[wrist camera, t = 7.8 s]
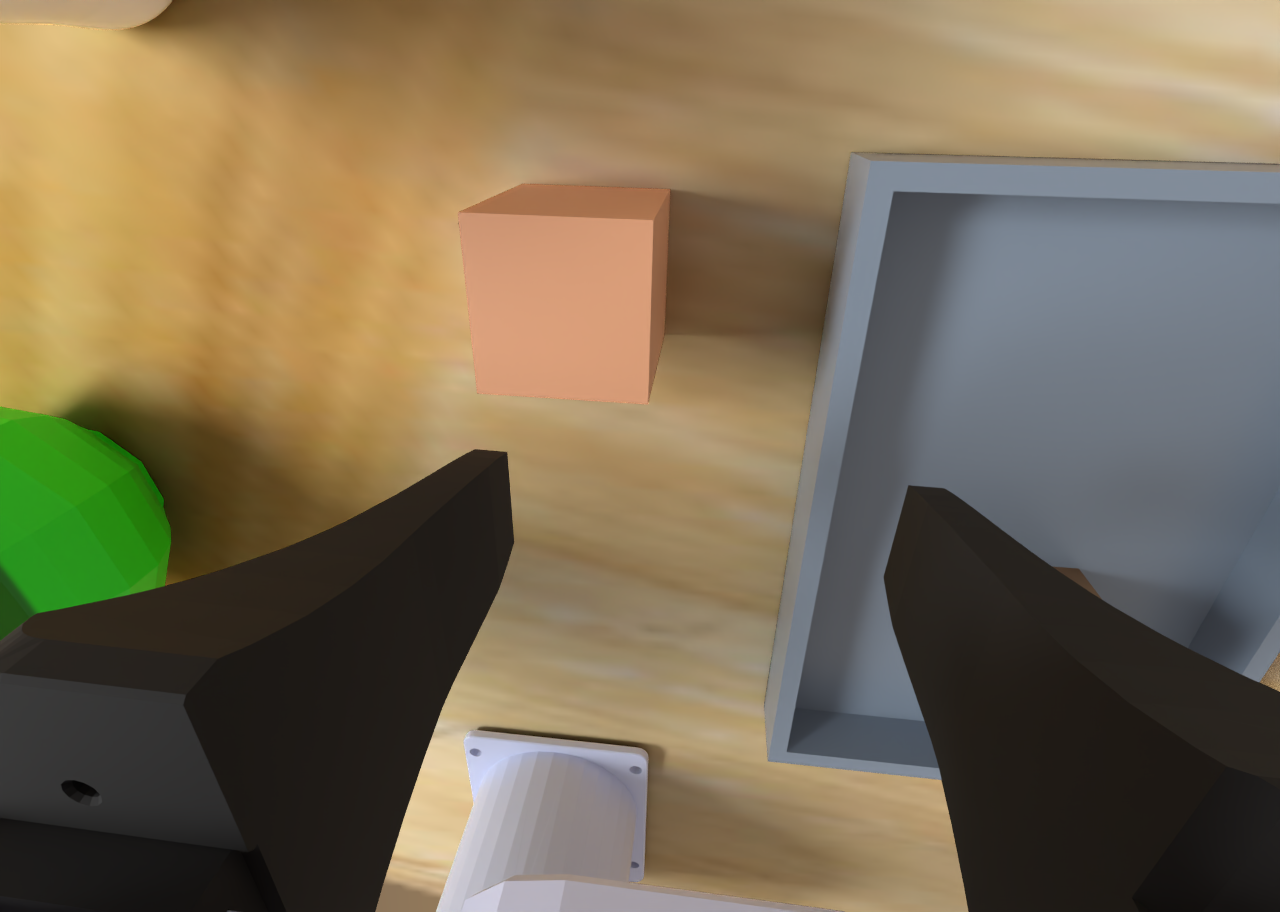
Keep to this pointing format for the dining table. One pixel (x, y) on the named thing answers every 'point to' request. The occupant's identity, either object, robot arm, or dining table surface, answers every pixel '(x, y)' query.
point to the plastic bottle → (73, 519)
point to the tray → (1035, 415)
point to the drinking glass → (82, 12)
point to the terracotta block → (567, 290)
